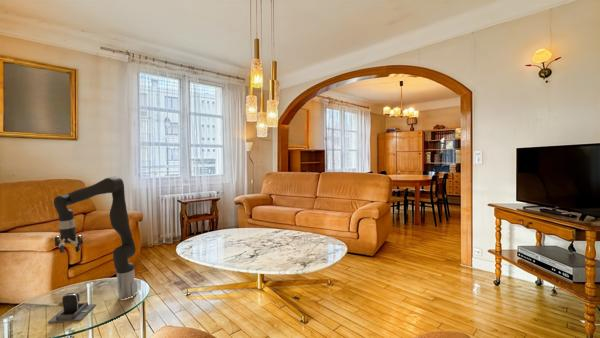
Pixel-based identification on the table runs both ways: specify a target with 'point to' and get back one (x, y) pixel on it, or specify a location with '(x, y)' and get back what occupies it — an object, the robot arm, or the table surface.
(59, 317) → the dock
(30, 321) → the table surface
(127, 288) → the robot arm
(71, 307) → the battery
